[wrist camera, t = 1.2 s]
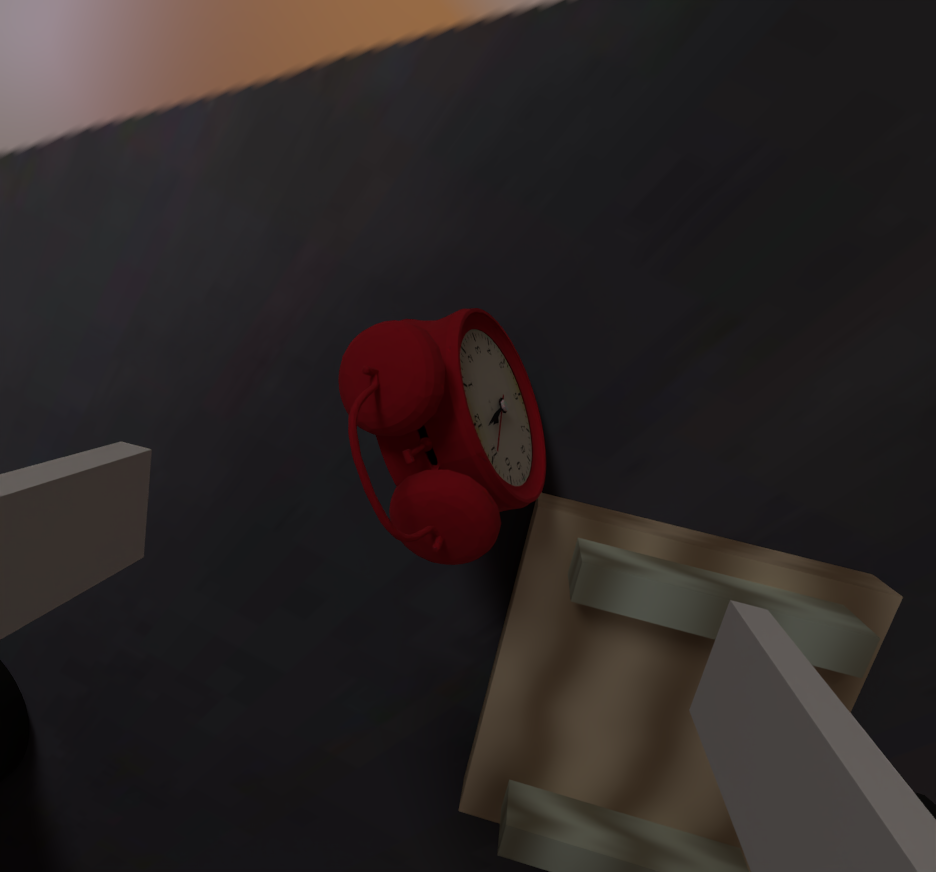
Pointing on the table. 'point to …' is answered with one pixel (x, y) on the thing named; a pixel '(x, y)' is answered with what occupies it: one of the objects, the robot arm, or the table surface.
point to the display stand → (638, 685)
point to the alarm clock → (445, 429)
